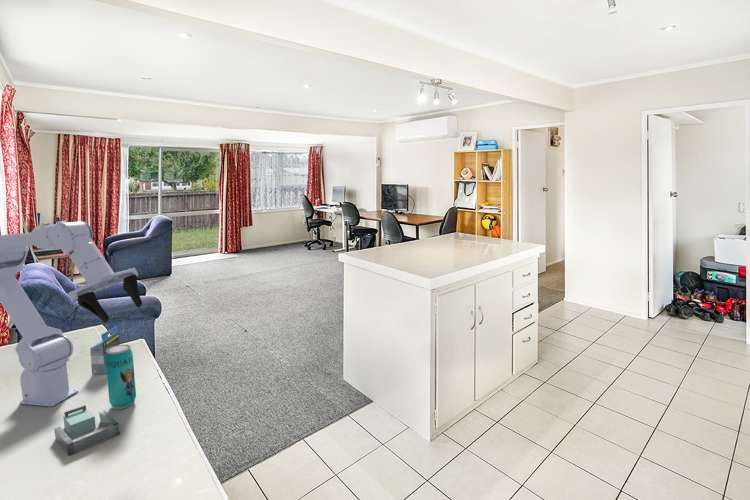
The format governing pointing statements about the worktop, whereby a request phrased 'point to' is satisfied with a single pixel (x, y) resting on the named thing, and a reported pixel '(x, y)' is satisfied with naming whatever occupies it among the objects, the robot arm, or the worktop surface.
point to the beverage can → (120, 376)
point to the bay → (89, 435)
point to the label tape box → (103, 351)
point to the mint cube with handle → (79, 421)
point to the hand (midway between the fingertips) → (124, 313)
